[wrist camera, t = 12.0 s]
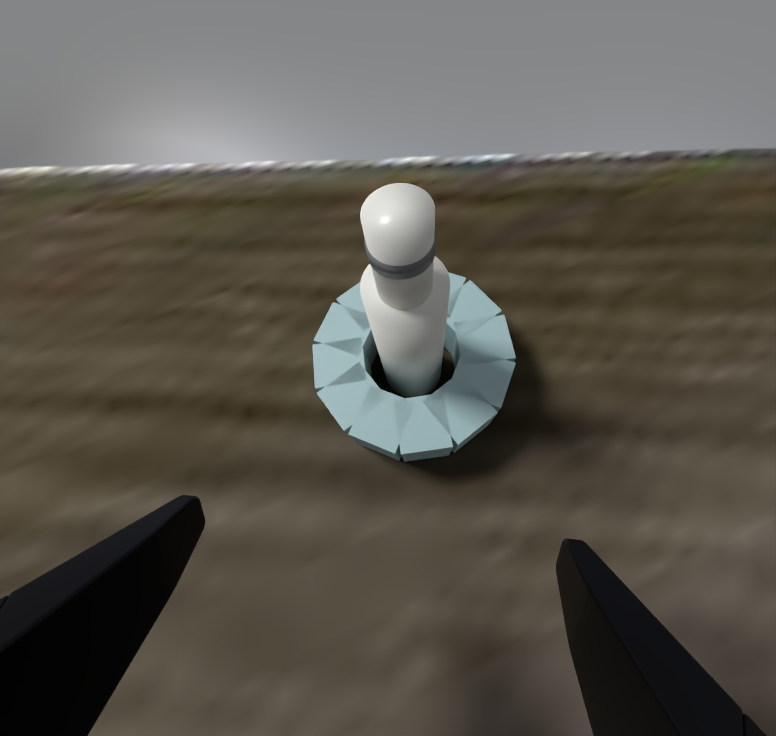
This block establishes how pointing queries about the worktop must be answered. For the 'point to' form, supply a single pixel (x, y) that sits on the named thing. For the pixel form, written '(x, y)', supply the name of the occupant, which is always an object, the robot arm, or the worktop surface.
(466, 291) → the pale blue segmented ring
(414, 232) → the white rounded peg
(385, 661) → the worktop surface
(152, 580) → the robot arm
